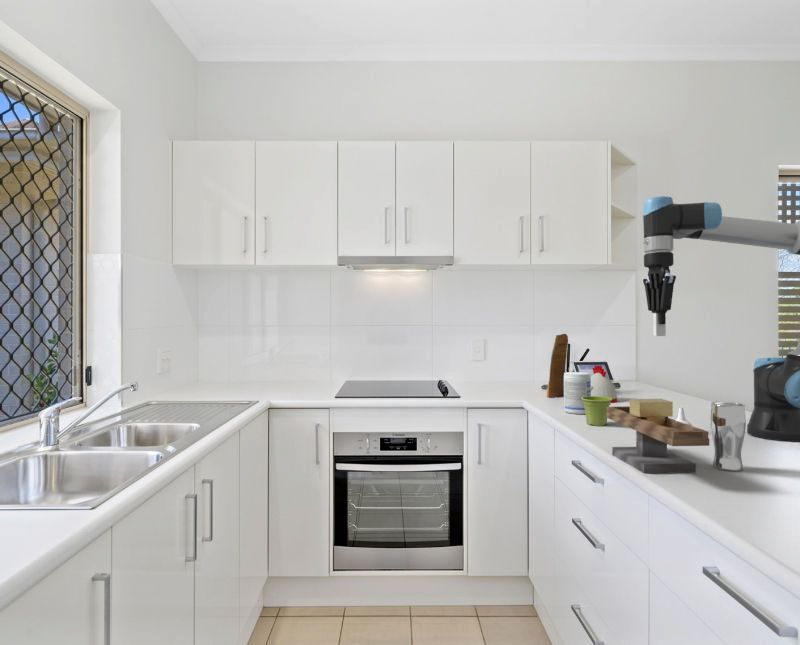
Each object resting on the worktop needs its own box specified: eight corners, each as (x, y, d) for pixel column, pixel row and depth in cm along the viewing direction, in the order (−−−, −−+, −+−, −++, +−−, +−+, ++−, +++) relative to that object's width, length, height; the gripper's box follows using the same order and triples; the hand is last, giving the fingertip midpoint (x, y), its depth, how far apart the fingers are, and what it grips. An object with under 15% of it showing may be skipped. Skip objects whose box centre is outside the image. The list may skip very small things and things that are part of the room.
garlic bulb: (665, 432, 163) (663, 407, 162) (680, 429, 165) (678, 404, 164) (682, 436, 157) (680, 410, 156) (698, 433, 159) (696, 407, 158)
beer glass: (748, 467, 122) (748, 403, 122) (742, 474, 117) (742, 407, 117) (713, 462, 127) (713, 400, 127) (707, 468, 122) (707, 404, 122)
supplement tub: (593, 415, 190) (593, 374, 189) (567, 414, 190) (566, 374, 190) (587, 410, 199) (586, 371, 199) (561, 410, 200) (561, 371, 200)
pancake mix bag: (573, 394, 241) (573, 333, 241) (556, 399, 227) (556, 334, 226) (559, 392, 246) (559, 333, 245) (542, 397, 231) (541, 334, 231)
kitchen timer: (603, 397, 231) (603, 363, 231) (624, 402, 218) (624, 366, 218) (575, 399, 228) (575, 364, 227) (595, 404, 214) (595, 367, 214)
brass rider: (629, 420, 129) (629, 399, 129) (661, 420, 130) (661, 398, 129) (639, 424, 124) (639, 402, 124) (672, 424, 125) (672, 401, 124)
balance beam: (599, 447, 142) (599, 406, 142) (642, 446, 143) (642, 405, 143) (663, 484, 110) (663, 431, 110) (718, 483, 111) (718, 430, 111)
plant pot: (616, 427, 168) (616, 400, 168) (586, 427, 168) (586, 400, 168) (606, 421, 177) (606, 396, 177) (578, 421, 178) (578, 396, 178)
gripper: (633, 255, 154) (635, 335, 155) (658, 249, 141) (659, 337, 142) (658, 255, 155) (659, 335, 155) (685, 249, 142) (686, 336, 142)
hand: (659, 335), depth 148 cm, fingers closed
